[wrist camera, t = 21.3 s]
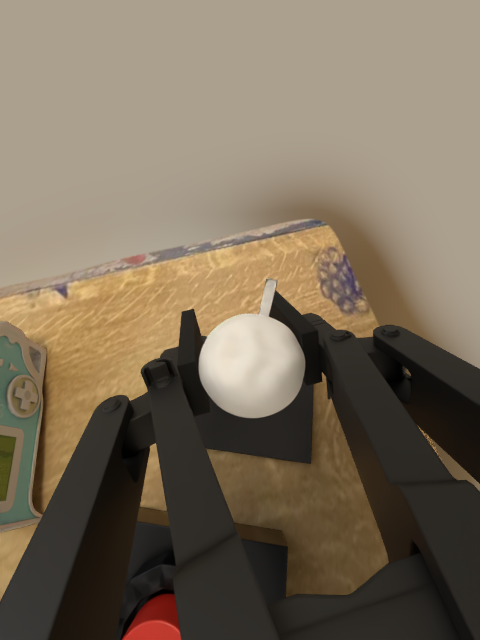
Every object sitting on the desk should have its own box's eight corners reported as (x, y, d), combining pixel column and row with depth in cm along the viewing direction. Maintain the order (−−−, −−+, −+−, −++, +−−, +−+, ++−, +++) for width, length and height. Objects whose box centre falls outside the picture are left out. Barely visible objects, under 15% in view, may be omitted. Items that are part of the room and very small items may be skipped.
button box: (282, 530, 21) (292, 558, 17) (271, 715, 18) (280, 817, 13) (111, 502, 22) (76, 521, 18) (67, 672, 19) (8, 753, 14)
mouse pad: (313, 350, 27) (314, 349, 26) (310, 463, 23) (311, 463, 23) (194, 336, 28) (193, 334, 27) (172, 443, 24) (171, 443, 23)
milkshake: (287, 357, 20) (328, 291, 11) (270, 432, 18) (304, 432, 9) (228, 341, 20) (219, 266, 11) (206, 413, 18) (173, 393, 9)
